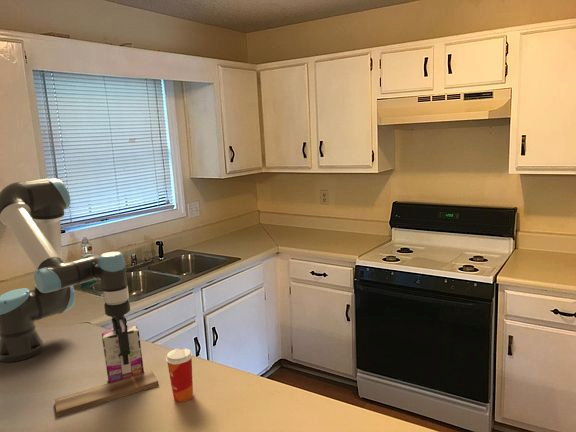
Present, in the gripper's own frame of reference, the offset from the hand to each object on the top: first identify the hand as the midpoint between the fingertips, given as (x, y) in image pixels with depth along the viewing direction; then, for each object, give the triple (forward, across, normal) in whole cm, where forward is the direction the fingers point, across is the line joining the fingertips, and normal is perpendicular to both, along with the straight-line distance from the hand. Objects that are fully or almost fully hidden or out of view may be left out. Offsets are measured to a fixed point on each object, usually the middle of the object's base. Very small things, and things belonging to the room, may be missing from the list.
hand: (125, 368), depth 153 cm
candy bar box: (+3, 0, 0) cm, 3 cm away
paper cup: (+4, +22, +12) cm, 25 cm away
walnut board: (+3, +7, -7) cm, 10 cm away
